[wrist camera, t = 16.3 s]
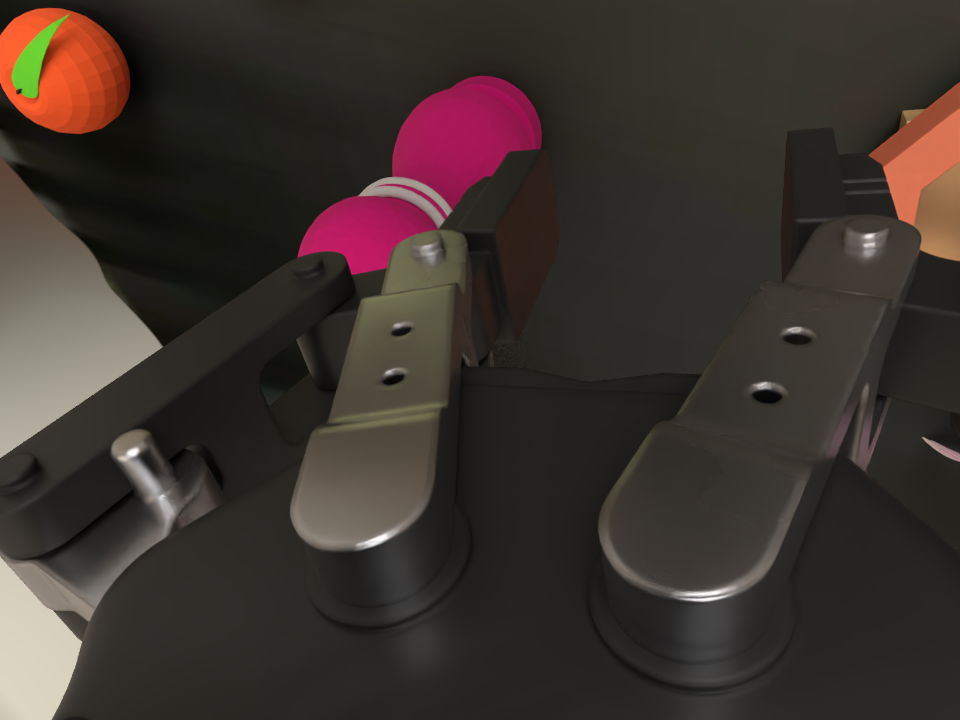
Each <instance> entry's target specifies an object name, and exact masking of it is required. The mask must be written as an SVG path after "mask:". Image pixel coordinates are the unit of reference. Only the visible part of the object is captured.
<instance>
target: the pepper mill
mask: <svg viewBox="0 0 960 720" xmlns="http://www.w3.org/2000/svg"><path fill="white" fill-rule="evenodd" d="M541 141H542V131H541V125H540V120H539V117H538V114H537V112H536V110H535V108H534V107H533V105H532V103H531V101H530V100H529V99H528V98H527V97H526V95H525V94H524V93H523V92H522V91H521V90H520V89H518V88H517V87H515V86H514V85H512V84H511V83H509V82H507V81H505V80H502V79H500V78H496V77H491V76H475V77H470V78H467V79H465V80H462V81H460V82H459V83H457V84H456V85H454V86H453V87H452V88H451V89H448V90H444V91H441V92H438V93H435V94H433V95H431V96H429V97H428V98H426V99H425V100H424V101H422V102H421V103H420V104H419V105H418V106H417V107H416V108H415V109H414V110H413V111H412V113H411V114H410V115H409V116H408V118H407V119H406V121H405V122H404V124H403V125H402V127H401V129H400V132H399V135H398V138H397V141H396V144H395V149H394V153H393V162H392V169H393V177H389V178H384V179H381V180H378V181H376V182H374V183H372V184H371V185H369V186H368V187H366V188H365V189H364V191H363V192H362V193H361V194H360V195H359V196H355V197H350V198H346V199H344V200H342V201H340V202H338V203H335V204H333V205H332V206H331V207H329V208H328V209H326V210H325V211H324V212H323V213H321V214H320V215H319V216H318V217H317V218H316V220H315V221H314V222H313V224H312V225H311V226H310V228H309V229H308V231H307V232H306V234H305V236H304V239H303V241H302V243H301V246H300V250H299V253H298V257H301V256H304V255H307V254H311V253H315V252H323V251H333V252H338V253H341V254H343V255H344V256H345V257H346V259H347V262H348V265H349V268H350V271H351V274H352V275H353V274H359V273H364V272H369V271H374V270H379V269H384V268H387V265H388V261H389V256H390V253H391V251H392V249H393V248H394V247H395V246H396V245H397V244H399V243H400V242H401V241H403V240H405V239H407V238H409V237H411V236H413V235H416V234H419V233H422V232H426V231H431V230H438V229H439V228H440V226H441V225H442V223H443V222H444V221H445V219H446V218H447V217H448V215H449V214H450V212H453V208H454V207H455V205H456V204H457V203H458V202H460V199H461V197H462V196H463V194H464V193H465V192H466V190H467V189H468V188H469V187H470V186H472V185H473V184H475V183H476V182H478V181H479V180H481V179H482V178H484V177H485V176H492V175H493V174H494V172H495V171H496V169H497V168H498V166H499V165H500V163H501V162H502V161H503V159H504V158H505V156H506V155H507V153H508V152H510V151H520V150H533V149H540V148H541Z"/></svg>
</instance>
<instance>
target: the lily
mask: <svg viewBox="0 0 960 720" xmlns="http://www.w3.org/2000/svg"><path fill="white" fill-rule="evenodd" d="M922 438H923V439H924V440H925V441H926V442H927V443H928V444H929V445H930V446H931V447H933V448H934V449H935V450H937V451H938V452H940V453H941V454H943V455H944V456H946V457H949V458H951V459H953V460H956V461H960V453H958V452H955V451H953V450H951V449H949V448H946V447H944V446H942V445H940V444H938V443H936V442H934V441H932V440H931V441H932V442H931V441H929V440H927V439H926V438H924V437H922ZM933 442H934V443H933ZM936 444H937V445H936Z"/></svg>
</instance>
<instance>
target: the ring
mask: <svg viewBox="0 0 960 720" xmlns="http://www.w3.org/2000/svg"><path fill="white" fill-rule="evenodd" d="M868 156H870V157H871V158H873V159H874V160H876V161H877V162H879V163H881V164H882V165H883V169H884V172H885V175H886V181H887V182H888V185H889V189H890V193H891V195H892V198H893V202H894V205H895V208H896V212H897V215H898V218H899V220H902V221H905V222H907V223H909V224H911V225H912V226H914V223H915V218H916V213H917V208H918V203H919V198H920V193H921V190H922V189H923V188H925V187H926V186H927V185H929V184H930V183H932V182H933V181H934V180H936V179H937V178H938V177H940V176H941V175H943V174H944V173H945V172H947V171H948V170H949V169H951V168H952V167H954V166H955V165H956V164H958V163H959V162H960V82H959V83H958V84H956V85H955V86H954V87H953V88H951V89H950V90H949V91H948V92H946V93H945V94H944V95H943V96H941V97H940V98H939V99H938V100H936V101H935V102H934V103H933V104H931V105H930V106H929V107H928V108H926V109H925V110H924V111H923V112H921V113H920V114H919V115H918V116H916V117H915V118H914V119H913V120H911V121H910V122H909V123H908V124H906V125H905V126H904V127H903V128H901V129H900V130H899V131H898V132H896V133H895V134H894V135H893V136H891V137H890V138H889V139H888V140H886V141H885V142H884V143H883V144H881V145H880V146H879V147H878V148H876V149H875V150H874V151H873V152H871V153H870V154H869V155H868Z"/></svg>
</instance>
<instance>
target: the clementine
mask: <svg viewBox="0 0 960 720" xmlns="http://www.w3.org/2000/svg"><path fill="white" fill-rule="evenodd" d="M0 83H1V86H2V88H3V89H4V91H5V93H6V94H7V96H8V98H9V99H10V100H11V102H12V103H13V104H14V105H15V106H16V108H17V109H18V110H19V111H21V112H22V113H23V114H24V115H25V116H26V117H27V118H29V119H31V120H32V121H34V122H35V123H37V124H39V125H42V126H44V127H47V128H49V129H52V130H54V131H57V132H64V133H76V134H82V133H86V132H91V131H94V130H98V129H101V128H103V127H105V126H106V125H107V124H109V123H110V122H111V121H113V120H114V119H115V118H116V117H118V116H119V115H120V113H121V111H122V109H123V107H124V106H125V104H126V102H127V100H128V97H129V91H130V75H129V68H128V64H127V61H126V58H125V56H124V54H123V52H122V50H121V48H120V47H119V45H118V44H117V43H116V41H115V40H114V39H113V37H112V36H111V35H110V34H109V33H108V32H107V31H105V30H104V29H103V28H102V27H101V26H99V25H98V24H96V23H95V22H93V21H92V20H90V19H89V18H87V17H86V16H83V15H81V14H78V13H76V12H72V11H69V10H65V9H59V8H43V9H35V10H32V11H29V12H27V13H24V14H22V15H21V16H19V17H17V18H15V19H14V20H13V21H12V22H11V23H10V24H9V25H8V26H7V27H6V29H5V30H4V31H3V33H2V34H1V35H0Z"/></svg>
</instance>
